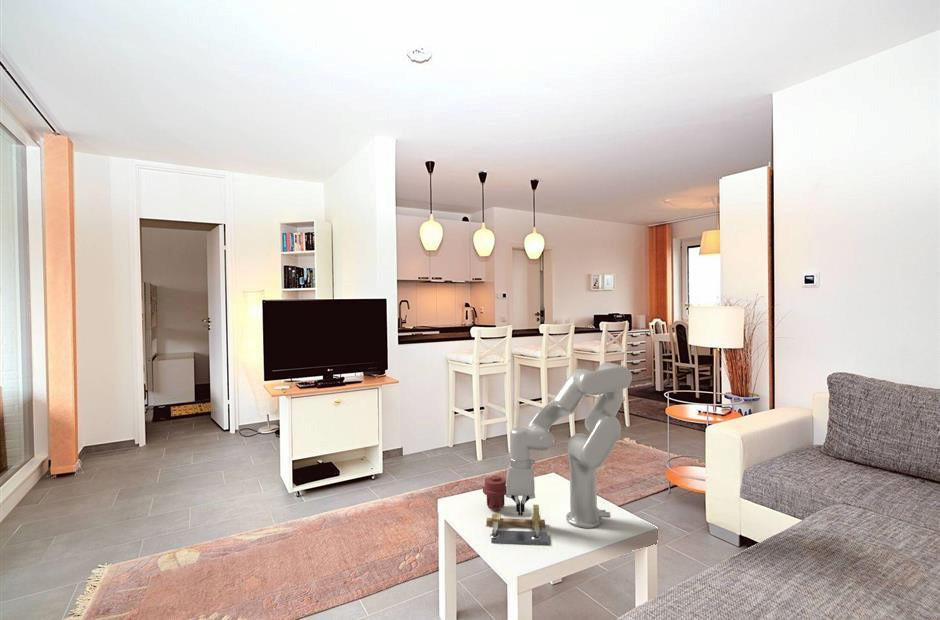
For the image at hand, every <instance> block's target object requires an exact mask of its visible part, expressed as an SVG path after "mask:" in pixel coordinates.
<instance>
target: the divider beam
mask: <svg viewBox="0 0 940 620" xmlns="http://www.w3.org/2000/svg"><path fill="white" fill-rule="evenodd" d="M501 516H502V515H501V513H497V512H496V513H495V512H494V513H492V515H491V517H486V524H485V525H486V527H491V528H492V530H493V535H495V536H496V533H497V530H499V529H498V528H501V527H502V528H522V529H523V528H524V529H526V528H527V529H529V528H531V529H532V518H530V519H529V518H507V517H506V518H503V517H501ZM545 521H546V519H541V529H546V522H545Z"/></svg>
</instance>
